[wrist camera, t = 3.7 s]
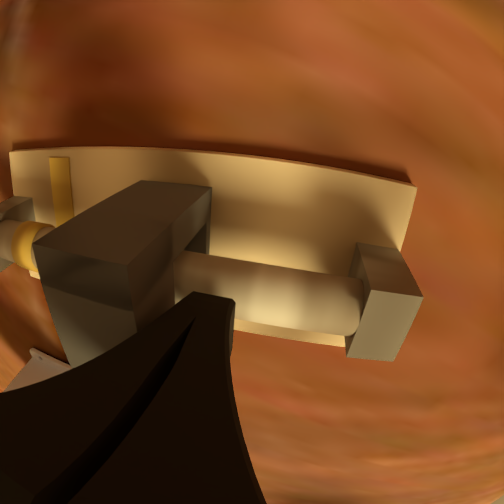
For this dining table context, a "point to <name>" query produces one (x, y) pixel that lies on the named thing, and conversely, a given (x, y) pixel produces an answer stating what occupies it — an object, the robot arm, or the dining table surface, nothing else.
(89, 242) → the grey notched block
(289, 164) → the pipe stand
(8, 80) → the dining table surface
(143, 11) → the dining table surface
